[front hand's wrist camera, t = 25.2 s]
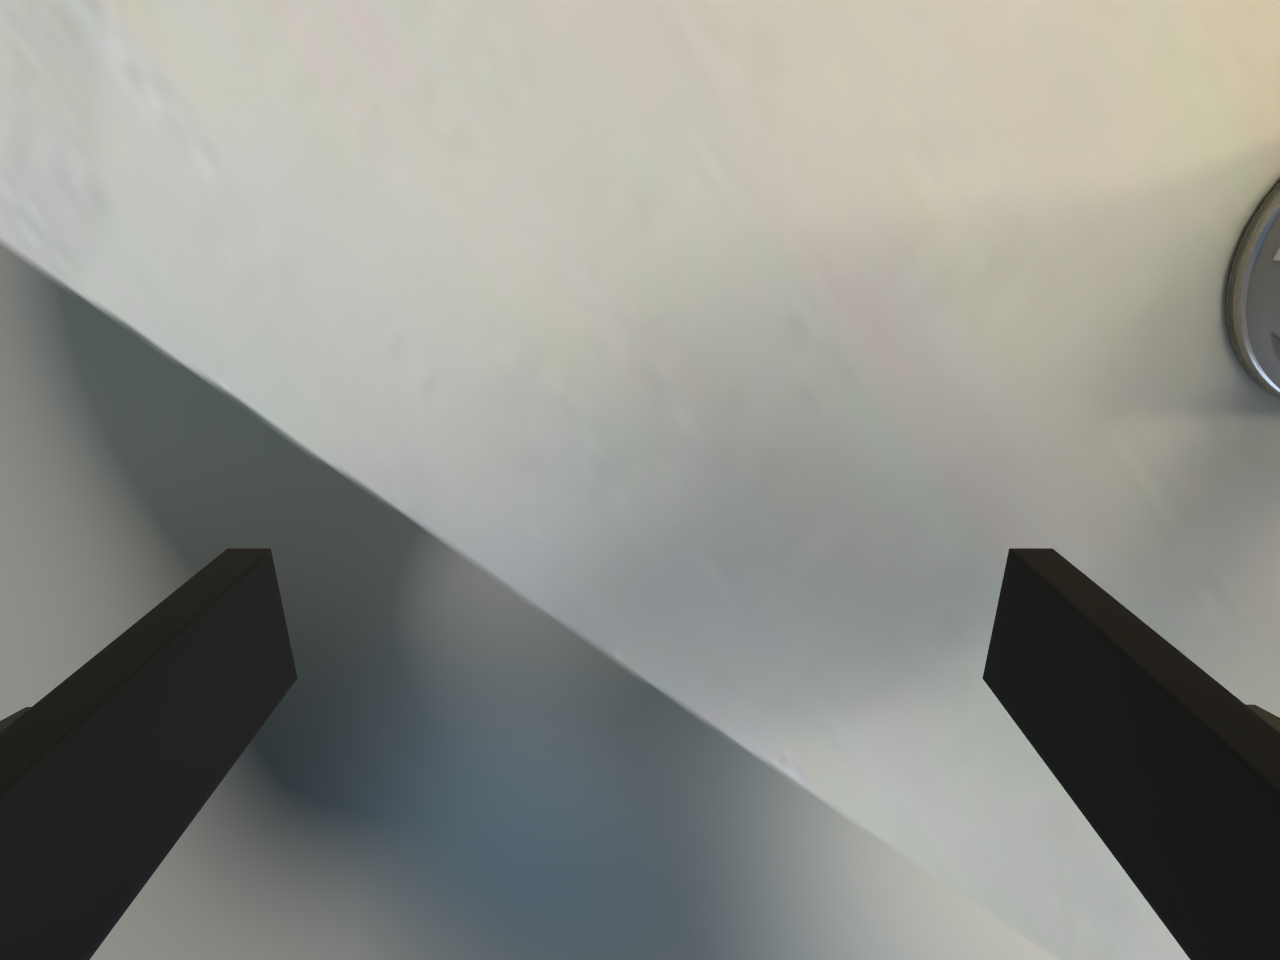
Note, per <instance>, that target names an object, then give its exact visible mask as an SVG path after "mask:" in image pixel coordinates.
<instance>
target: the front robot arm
mask: <svg viewBox="0 0 1280 960" xmlns="http://www.w3.org/2000/svg"><path fill="white" fill-rule="evenodd" d="M1226 320H1227V329H1228V333H1229V337H1230V341H1231V344H1232V347H1233V349H1234V352H1235V354H1236V356H1237V358H1238V360H1239V362H1240V363H1241V365H1242V366H1243V368H1244V369H1245V371H1246V372H1247V373H1248V374H1249V375H1250V376H1251V377H1252V379H1253V380H1254V381H1255V382H1257V383H1258V384H1259V385H1260V386H1261V387H1263V388H1264V389H1266V390H1267V391H1269V392H1270V393H1272V394H1274V395H1276V396H1278V397H1280V182H1279V183H1278V184H1277V185H1276V186H1275V188H1274V189H1273V190H1272V191H1271V193H1270V194H1269V195H1268V196H1267V198H1266V199H1265V200H1264V202H1263V203H1262V205H1261V206H1260V208H1259V209H1258V211H1257V212H1256V214H1255V215H1254V217H1253V219H1252V221H1251V222H1250V224H1249V226H1248V228H1247V229H1246V232H1245V234H1244V236H1243V238H1242V240H1241V242H1240V244H1239V247H1238V250H1237V252H1236V255H1235V258H1234V261H1233V264H1232V268H1231V271H1230V276H1229V281H1228V286H1227V295H1226ZM296 679H297V675H296V670H295V665H294V660H293V655H292V650H291V645H290V641H289V636H288V631H287V626H286V621H285V616H284V611H283V607H282V602H281V597H280V592H279V587H278V582H277V577H276V572H275V567H274V563H273V558H272V553H271V549H226V550H225V551H224V552H223V553H221V554H220V555H219V556H218V557H217V558H215V559H214V560H213V561H212V562H210V563H209V564H208V565H207V566H205V567H204V568H203V569H202V570H200V571H199V572H198V573H197V574H196V575H194V576H193V577H192V578H191V579H189V580H188V581H187V582H186V583H185V584H183V585H182V586H181V587H180V588H178V589H177V590H176V591H175V592H173V593H172V594H171V595H170V596H168V597H167V598H166V599H165V600H163V601H162V602H161V603H160V604H159V605H157V606H156V607H155V608H154V609H152V610H151V611H150V612H149V613H147V614H146V615H145V616H144V617H143V618H141V619H140V620H139V621H138V622H136V623H135V624H134V625H133V626H131V627H130V628H129V629H128V630H126V631H125V632H124V633H123V634H122V635H120V636H119V637H118V638H117V639H115V640H114V641H113V642H112V643H110V644H109V645H108V646H107V647H106V648H104V649H103V650H102V651H100V652H99V653H98V654H97V655H96V656H94V657H93V658H92V659H91V660H89V661H88V662H87V663H86V664H84V665H83V666H82V667H81V668H80V669H78V670H77V671H76V672H75V673H73V674H72V675H71V676H70V677H68V678H67V679H66V680H65V681H64V682H62V683H61V684H60V685H59V686H57V687H56V688H55V689H54V690H52V691H51V692H50V693H49V694H47V695H46V696H45V697H44V698H42V699H41V700H40V701H39V702H38V703H36V704H35V705H34V706H33V707H26V708H24V709H22V710H20V711H18V712H16V713H15V714H13V715H11V716H9V717H7V718H5V719H3V720H2V721H0V960H90V958H91V957H92V956H93V954H94V953H95V951H96V950H97V949H98V947H99V946H100V945H101V943H102V942H103V941H104V939H105V938H106V937H107V935H108V934H109V932H110V931H111V930H112V928H113V927H114V926H115V924H116V923H117V922H118V920H119V919H120V918H121V916H122V915H123V914H124V912H125V911H126V910H127V908H128V907H129V905H130V904H131V903H132V901H133V900H134V899H135V897H136V896H137V895H138V893H139V892H140V891H141V889H142V888H143V887H144V885H145V884H146V882H147V881H148V880H149V878H150V877H151V876H152V874H153V873H154V872H155V870H156V869H157V868H158V866H159V865H160V863H161V862H162V861H163V859H164V858H165V857H166V855H167V854H168V853H169V851H170V850H171V849H172V847H173V846H174V844H175V843H176V842H177V840H178V839H179V838H180V836H181V835H182V834H183V832H184V831H185V830H186V828H187V827H188V826H189V824H190V823H191V821H192V820H193V819H194V817H195V816H196V815H197V813H198V812H199V811H200V809H201V808H202V807H203V805H204V804H205V803H206V801H207V800H208V799H209V797H210V796H211V794H212V793H213V792H214V790H215V789H216V788H217V786H218V785H219V784H220V782H221V781H222V779H223V778H224V777H225V776H226V774H227V773H228V771H229V770H230V769H231V767H232V766H233V765H234V763H235V762H236V761H237V759H238V758H239V757H240V755H241V754H242V752H243V751H244V750H245V748H246V747H247V746H248V744H249V743H250V742H251V740H252V739H253V738H254V736H255V735H256V734H257V732H258V731H259V729H260V728H261V727H262V725H263V724H264V723H265V721H266V720H267V719H268V717H269V716H270V715H271V713H272V712H273V710H274V709H275V708H276V706H277V705H278V704H279V702H280V701H281V700H282V698H283V697H284V696H285V694H286V693H287V691H288V690H289V689H290V688H291V686H292V685H293V683H294V682H295V681H296ZM983 679H984V681H985V682H986V683H987V685H988V686H989V688H990V689H991V690H992V692H993V693H994V694H995V696H996V697H997V698H998V700H999V701H1000V702H1001V704H1002V705H1003V706H1004V708H1005V709H1006V711H1007V712H1008V713H1009V715H1010V716H1011V717H1012V719H1013V720H1014V721H1015V723H1016V724H1017V725H1018V727H1019V728H1020V730H1021V731H1022V732H1023V734H1024V735H1025V736H1026V738H1027V739H1028V740H1029V742H1030V743H1031V744H1032V746H1033V747H1034V748H1035V750H1036V751H1037V753H1038V754H1039V755H1040V757H1041V758H1042V759H1043V761H1044V762H1045V763H1046V765H1047V766H1048V767H1049V769H1050V770H1051V771H1052V773H1053V774H1054V776H1055V777H1056V778H1057V780H1058V781H1059V782H1060V784H1061V785H1062V786H1063V788H1064V789H1065V790H1066V792H1067V793H1068V794H1069V796H1070V797H1071V799H1072V800H1073V801H1074V803H1075V804H1076V805H1077V807H1078V808H1079V809H1080V811H1081V812H1082V813H1083V815H1084V816H1085V817H1086V819H1087V820H1088V822H1089V823H1090V824H1091V826H1092V827H1093V828H1094V830H1095V831H1096V832H1097V834H1098V835H1099V836H1100V838H1101V839H1102V841H1103V842H1104V843H1105V845H1106V846H1107V847H1108V849H1109V850H1110V851H1111V853H1112V854H1113V855H1114V857H1115V858H1116V859H1117V861H1118V862H1119V864H1120V865H1121V866H1122V868H1123V869H1124V870H1125V872H1126V873H1127V874H1128V876H1129V877H1130V878H1131V880H1132V881H1133V882H1134V884H1135V885H1136V887H1137V888H1138V889H1139V891H1140V892H1141V893H1142V895H1143V896H1144V897H1145V899H1146V900H1147V901H1148V903H1149V904H1150V905H1151V907H1152V908H1153V910H1154V911H1155V912H1156V914H1157V915H1158V916H1159V918H1160V919H1161V920H1162V922H1163V923H1164V924H1165V926H1166V927H1167V928H1168V930H1169V931H1170V933H1171V934H1172V935H1173V937H1174V938H1175V939H1176V941H1177V942H1178V943H1179V945H1180V946H1181V947H1182V949H1183V950H1184V951H1185V953H1186V954H1187V956H1188V957H1189V958H1190V960H1280V718H1279V717H1277V716H1275V715H1273V714H1271V713H1269V712H1267V711H1266V710H1264V709H1262V708H1260V707H1258V706H1256V705H1245V704H1244V703H1242V702H1241V701H1240V700H1239V699H1238V698H1236V697H1235V696H1234V695H1233V694H1231V693H1230V692H1229V691H1228V690H1226V689H1225V688H1224V687H1223V686H1221V685H1220V684H1219V683H1218V682H1217V681H1215V680H1214V679H1213V678H1212V677H1210V676H1209V675H1208V674H1207V673H1205V672H1204V671H1203V670H1202V669H1200V668H1199V667H1198V666H1197V665H1196V664H1194V663H1193V662H1192V661H1191V660H1189V659H1188V658H1187V657H1186V656H1184V655H1183V654H1182V653H1181V652H1180V651H1178V650H1177V649H1176V648H1175V647H1173V646H1172V645H1171V644H1170V643H1168V642H1167V641H1166V640H1165V639H1163V638H1162V637H1161V636H1160V635H1159V634H1157V633H1156V632H1155V631H1154V630H1152V629H1151V628H1150V627H1149V626H1147V625H1146V624H1145V623H1144V622H1142V621H1141V620H1140V619H1139V618H1138V617H1136V616H1135V615H1134V614H1133V613H1131V612H1130V611H1129V610H1128V609H1126V608H1125V607H1124V606H1123V605H1121V604H1120V603H1119V602H1118V601H1117V600H1115V599H1114V598H1113V597H1112V596H1110V595H1109V594H1108V593H1107V592H1105V591H1104V590H1103V589H1102V588H1100V587H1099V586H1098V585H1097V584H1096V583H1094V582H1093V581H1092V580H1091V579H1089V578H1088V577H1087V576H1086V575H1084V574H1083V573H1082V572H1081V571H1080V570H1078V569H1077V568H1076V567H1075V566H1073V565H1072V564H1071V563H1070V562H1068V561H1067V560H1066V559H1065V558H1063V557H1062V556H1061V555H1060V554H1059V553H1057V552H1056V551H1055V550H1054V549H1009V553H1008V558H1007V563H1006V567H1005V572H1004V577H1003V582H1002V587H1001V592H1000V597H999V601H998V606H997V611H996V616H995V621H994V626H993V631H992V636H991V640H990V645H989V650H988V655H987V660H986V665H985V670H984V675H983Z"/></svg>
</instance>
